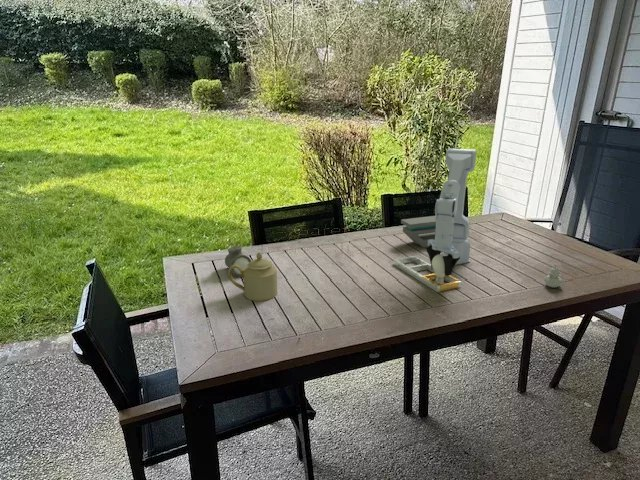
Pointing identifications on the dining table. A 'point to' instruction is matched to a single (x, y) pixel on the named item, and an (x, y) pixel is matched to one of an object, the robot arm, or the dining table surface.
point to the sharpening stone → (420, 229)
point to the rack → (426, 278)
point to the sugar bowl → (257, 279)
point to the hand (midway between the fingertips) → (441, 271)
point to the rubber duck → (553, 278)
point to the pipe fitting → (236, 260)
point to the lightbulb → (439, 268)
